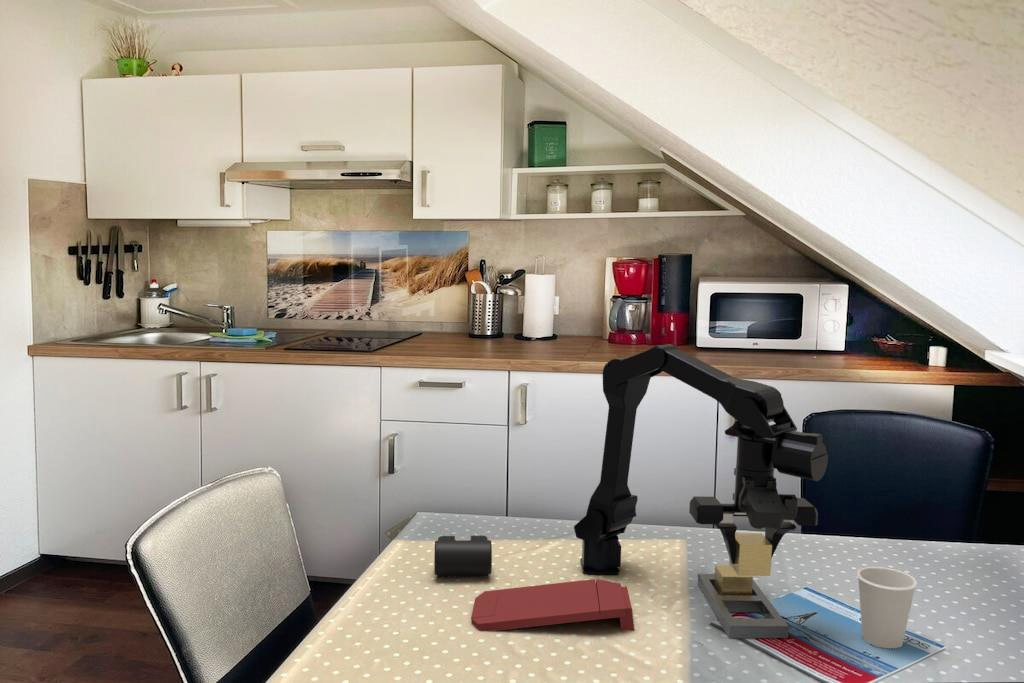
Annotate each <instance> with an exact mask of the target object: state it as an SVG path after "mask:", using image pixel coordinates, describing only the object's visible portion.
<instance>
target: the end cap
mask: <svg viewBox="0 0 1024 683" xmlns="http://www.w3.org/2000/svg"><path fill="white" fill-rule="evenodd" d="M492 547H493V546H492V540H490V539H488V537H487V536H486V535H483V534H481V535H475V534H473V535H470V539H467V540H465V539H464V540H461V539H459V540H458V539H457V540H456V535H440V536H438V538H437V540H435V541H434V556H433V557H434V561H433V562H434V564H433V565H434V566H433V568H434V571H433V572H434V576H437V578H489V575H491V574H492V568H493V567H492V565H493V564H492V563H493V562H492V561H493V560H492V559H493V557H492V556H493V550H492Z"/></svg>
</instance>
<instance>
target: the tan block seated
mask: <svg viewBox="0 0 1024 683" xmlns="http://www.w3.org/2000/svg"><path fill="white" fill-rule="evenodd" d="M714 574H715V575H714V589H715V590H716V592H717V593H718V595H743V596H752V583H753V580H754V579H753V578H754V576H738V575H737V573H736V572H735V570H734V569H733V568H732V566H731V565H730V564H723V565H721V564H720V565H719V564H714Z"/></svg>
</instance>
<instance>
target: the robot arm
mask: <svg viewBox="0 0 1024 683" xmlns="http://www.w3.org/2000/svg"><path fill="white" fill-rule="evenodd" d="M662 373H665V374H668V376H671V377H673V378H675V379H676V380H679V381H680V382H682V383H683V384H686V385H688V386H690V387H692V388H694V389H696V390H697V391H699V392H701V393H703V394H705V395H707V396H708V397H710V398H712V399H714V400H715V401H716V402H718V404H720V405H721V407H722V408H723V410H724V412H726V413H727V414H728V415H729V416H730V417H732V418H733V419H734V420H735V421H734V423H733V424H732V425H731V426H730V427H728V428H727V429H726V430H724V434H725V435H726V436H732V437H735V438H737V446H736V459H735V460H736V463H735V464H736V465H735V467H734V468H733V475H734V476H735V479H734V480H735V482H734V492H733V493H732V500H733V503H721V502H720V501H719V500H718V499H717V498H716V496H701V495H700V496H693V497H692V498H691V499H690V501H689V507H688V511H689V512H688V513H689V514H690V515H691V517H692V518H693V519H694V522H695V523H696V524H699V525H714V527H715V528H716V529H718V530H719V531H720V532H721V535H722V538H723V541H724V545H725V548H726V551H727V554H728V557H729V559H730V561H731V563H732V564H735V559H736V544H735V533H737V529H738V526H737V525H736V524H735V523H734V517H747V520H748V523H749V525H750V526H751V527H752V528H754V529H758V530H762V529H765V532H764V537H765V538H766V539H767V540H768V541H769V542H770V543H771V544H772V556H771V560H772V558H773V556H774V554H775V552H776V550H777V548H778V545H779V544H780V541H781V540H782V539H783V537H784V535H785V534H787V533H788V532H790V531H795V530H796V529H797V526H796V525H795V524H797V525H798V526H799V527H800V526H801V527H803V526H804V527H805V526H806V527H810V526H811V527H815V526H817V525H818V522H819V513H818V510H817V508H816V506H814V505H813V504H812V503H811V502H809V501H808V500H807V499H805V497H797V496H796V494H786V493H785V494H784V493H779V492H778V489H777V478H776V477H775V470H776V471H777V472H778V473H780V474H784V475H787V476H792V477H795V478H800V479H805V480H810V481H815V482H819V481H820V480H821V479H822V478H823V477H824V475H825V472H826V470H827V466H828V460H829V454H828V453H827V451H828V450H827V448H826V445H825V443H823V440H824V439H823V434H821V433H820V434H819V433H816V432H815V433H814V432H812V433H807V432H801V431H798V428H797V426H796V424H795V423H794V421H793V419H792V417H791V415H790V414H789V412H788V411H787V409H786V407H785V406H784V399H783V397H782V393H781V392H780V391H779V390H778V389H777V388H776V387H774V386H771V385H767V384H764V383H761V382H757V381H755V380H749V379H743V378H738V377H734V376H732V375H730V374H728V373H726V372H724V371H723V370H720V369H718V368H716V367H715V366H713V365H711V364H708V362H705V361H703V360H701V359H699V358H697V357H695V356H693V355H690V354H689V353H687V352H684V351H683V350H681V349H680V348H678V347H677V346H676V345H674V344H671V343H669V344H662V345H655V346H653V347H651V348H649V349H647V350H645V351H642V352H641V353H638V354H634V355H632V356H627V357H626V356H625V357H619V358H613V359H610V360H609V361H607V363H605V365H603V369H602V392H603V395H604V398H605V400H606V402H607V404H608V411H607V412H608V413H607V419H606V420H607V421H606V430H605V435H604V436H605V438H604V447H603V454H602V463H601V469H600V470H601V472H600V479H599V483H598V485H597V486H596V488H595V490H594V491H593V493H592V494H591V497H590V498H589V502H588V506H587V509H586V514H585V516H583V517H582V518H581V519H580V520H579V521H578V522H577V523H576V524H575V525H574V526H573V528H574V533H575V538H577V539H580V540H581V541H582V544H581V545H582V546H581V558H580V559H579V560H580V566H581V567H582V568H581V569H582V573H583V574H586V575H619V574H620V570H619V568H621V565H622V564H621V563H622V544H621V542H620V541H619V535H621V534H624V533H625V532H626V529H627V526H629V525H630V524H631V523H632V522H633V518H635V517H637V512H636V508H637V503H638V495H635V494H632V493H631V491H630V488H629V485H628V483H629V472H630V465H631V457H632V448H633V442H634V434H635V424H636V418H637V417H636V416H637V410H638V407H639V406H640V404H641V402H642V400H643V399H644V397H645V396H646V394H647V392H648V388H649V385H650V381H651V378H653V377H656V376H658V375H661V374H662ZM770 423H774V424H770ZM794 523H795V524H794Z"/></svg>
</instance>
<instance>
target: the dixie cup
mask: <svg viewBox="0 0 1024 683" xmlns="http://www.w3.org/2000/svg"><path fill="white" fill-rule="evenodd" d="M856 576H857V579H858V589H859V590H858V592H859V609H860V623H861V624H860V625H861V636H862V639H863V640H864V641H865V642H866V643H867V644H870V645H871V644H872V646H875V647H877V648H881V647H882V649H886V648H888V650H889V648H890V650H891V648H893V650H894V648H895V649H899V648H901V647H902V646H903V643H904V640H905V634H906V631H907V625H908V620H909V615H910V611H911V607H912V603H913V598H914V595H915V594H914V593H915V590H916V588H917V587H918V581H917V580H916V579H915V578H914V576H912V575H910V574H908V573H906V572H904V571H901V570H898V569H893V568H890V567H889V568H888V567H885V566H867V567H863V568H860V569H859V570H857V572H856ZM878 646H879V647H878ZM898 647H899V648H898Z"/></svg>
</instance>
